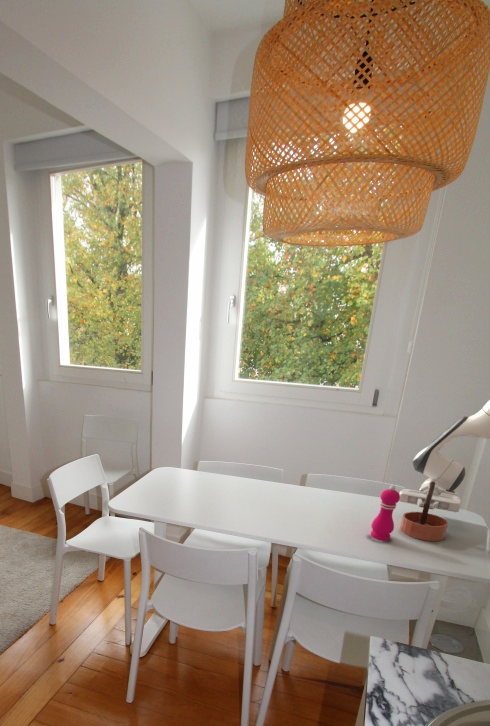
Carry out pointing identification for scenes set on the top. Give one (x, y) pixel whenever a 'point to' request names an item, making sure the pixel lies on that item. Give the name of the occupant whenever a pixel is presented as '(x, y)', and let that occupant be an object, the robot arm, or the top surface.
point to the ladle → (427, 504)
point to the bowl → (423, 526)
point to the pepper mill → (385, 515)
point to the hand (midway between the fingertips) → (426, 506)
